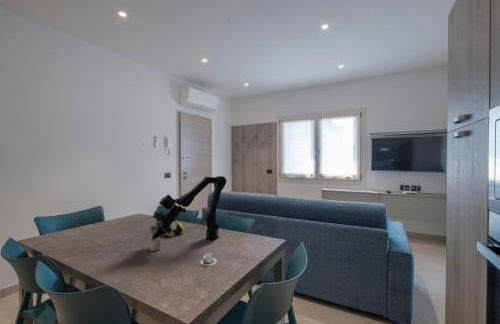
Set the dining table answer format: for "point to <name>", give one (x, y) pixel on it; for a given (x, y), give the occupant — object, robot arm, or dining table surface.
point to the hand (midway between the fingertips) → (152, 237)
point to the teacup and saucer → (208, 259)
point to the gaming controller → (176, 231)
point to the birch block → (154, 242)
